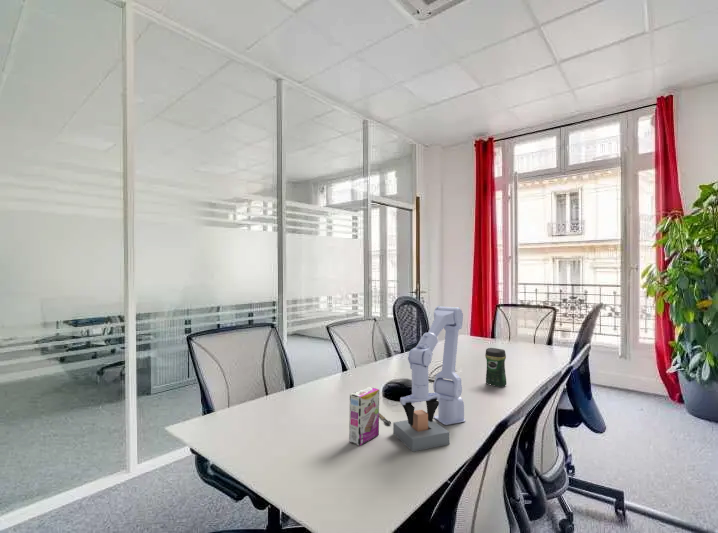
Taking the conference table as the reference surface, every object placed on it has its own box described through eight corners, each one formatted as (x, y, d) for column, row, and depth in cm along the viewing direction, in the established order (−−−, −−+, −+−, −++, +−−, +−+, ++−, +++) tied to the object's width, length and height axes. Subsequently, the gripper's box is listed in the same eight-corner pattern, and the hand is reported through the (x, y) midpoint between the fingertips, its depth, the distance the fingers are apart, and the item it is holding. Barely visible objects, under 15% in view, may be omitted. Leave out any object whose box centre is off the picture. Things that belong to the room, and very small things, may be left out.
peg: (422, 435, 129) (422, 409, 129) (428, 439, 125) (427, 413, 125) (412, 436, 127) (412, 411, 127) (417, 441, 124) (417, 415, 124)
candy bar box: (360, 447, 120) (359, 397, 120) (348, 442, 123) (348, 394, 124) (380, 435, 129) (379, 388, 129) (369, 431, 132) (368, 386, 132)
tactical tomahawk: (360, 410, 155) (359, 407, 155) (374, 407, 157) (374, 404, 157) (377, 429, 135) (376, 426, 135) (393, 425, 137) (393, 422, 137)
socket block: (427, 427, 135) (427, 416, 135) (449, 444, 122) (449, 432, 122) (393, 433, 130) (393, 422, 130) (412, 451, 117) (412, 439, 117)
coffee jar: (508, 385, 185) (508, 348, 186) (501, 388, 180) (501, 351, 180) (490, 381, 192) (490, 346, 193) (483, 384, 187) (482, 348, 187)
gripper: (431, 377, 132) (432, 415, 132) (396, 382, 127) (396, 421, 127) (442, 383, 126) (443, 422, 126) (405, 388, 121) (406, 429, 121)
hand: (420, 422), depth 126 cm, fingers open, 7 cm apart
